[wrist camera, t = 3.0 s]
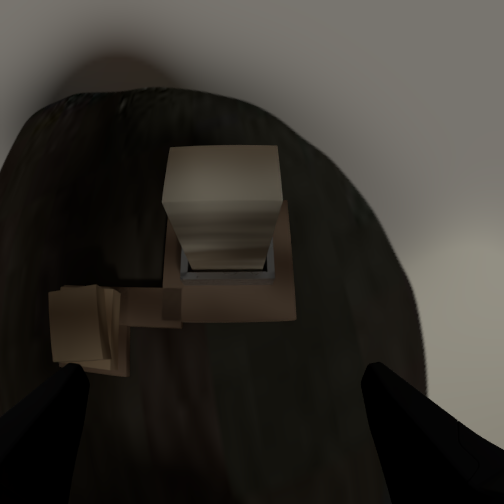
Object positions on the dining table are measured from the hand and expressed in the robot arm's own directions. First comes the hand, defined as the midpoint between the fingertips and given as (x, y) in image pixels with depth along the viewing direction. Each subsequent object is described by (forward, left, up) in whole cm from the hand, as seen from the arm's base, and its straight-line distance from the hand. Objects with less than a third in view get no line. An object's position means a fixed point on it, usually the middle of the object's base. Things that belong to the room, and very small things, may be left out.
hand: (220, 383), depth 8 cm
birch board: (+8, -4, -13) cm, 15 cm away
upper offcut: (+7, +9, -11) cm, 16 cm away
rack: (+8, +2, -13) cm, 15 cm away
